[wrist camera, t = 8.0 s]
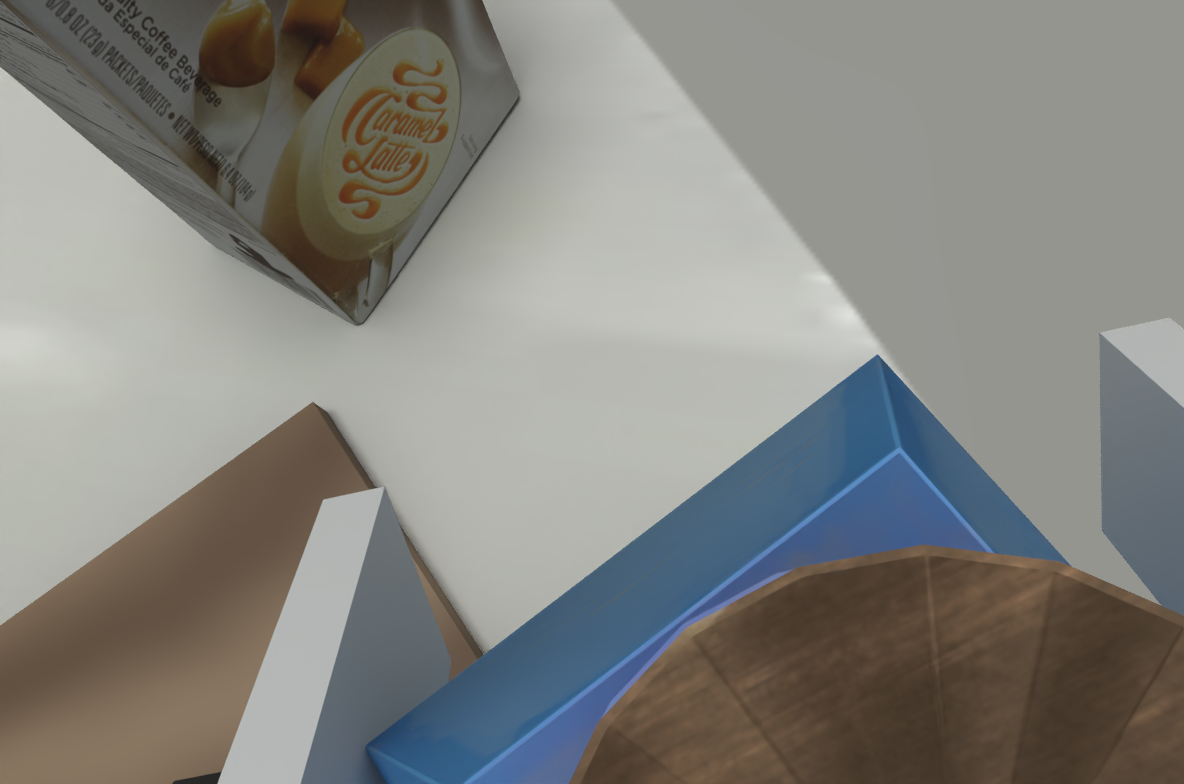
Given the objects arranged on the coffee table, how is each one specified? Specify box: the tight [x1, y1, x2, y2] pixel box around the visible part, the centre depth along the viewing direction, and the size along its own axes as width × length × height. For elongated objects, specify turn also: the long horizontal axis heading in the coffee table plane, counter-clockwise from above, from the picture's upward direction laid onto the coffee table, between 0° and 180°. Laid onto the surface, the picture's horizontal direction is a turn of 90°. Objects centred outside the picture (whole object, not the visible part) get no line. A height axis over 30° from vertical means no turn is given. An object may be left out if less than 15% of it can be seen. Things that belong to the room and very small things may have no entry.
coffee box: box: [0, 0, 519, 324], centre depth 25 cm, size 9×6×16 cm
